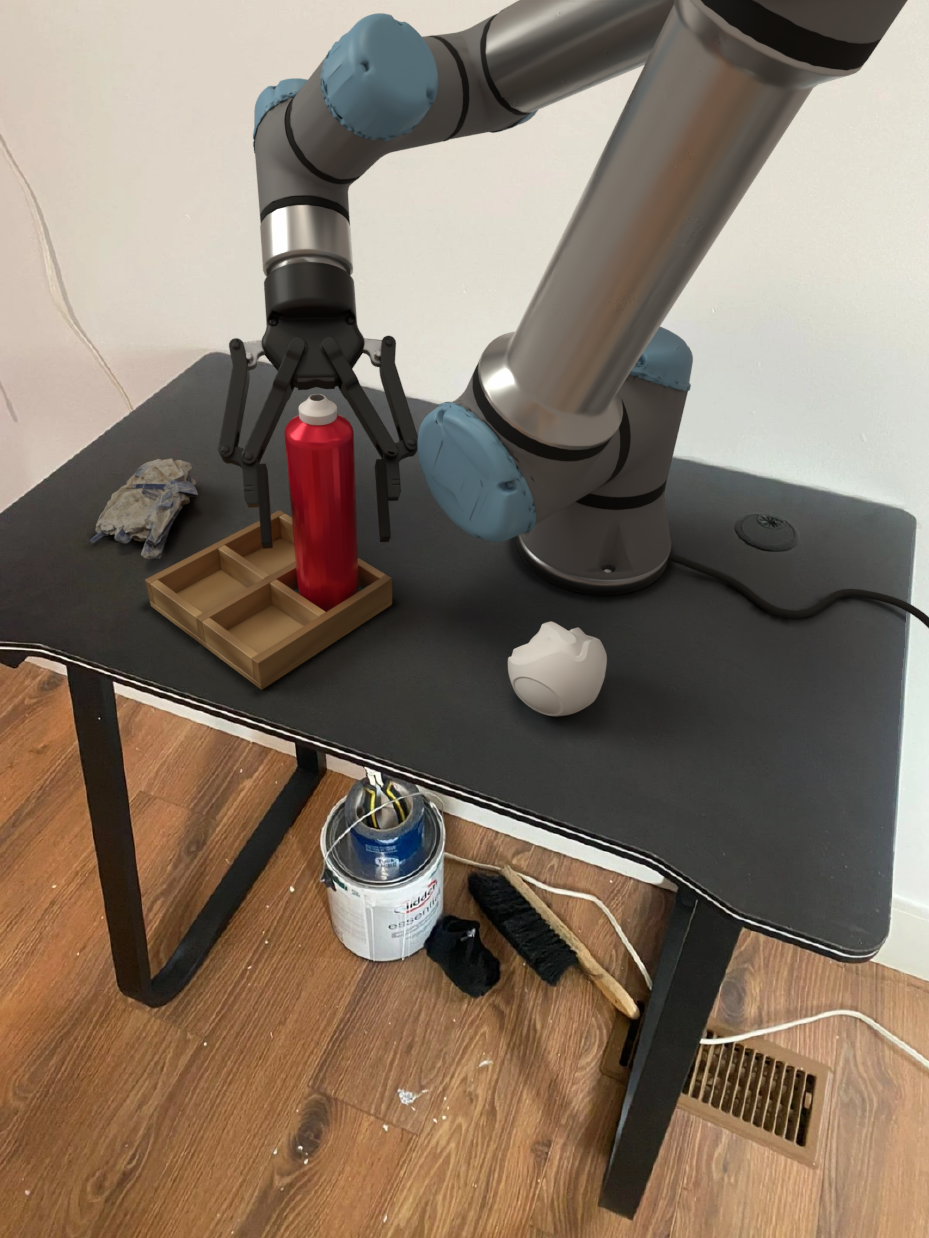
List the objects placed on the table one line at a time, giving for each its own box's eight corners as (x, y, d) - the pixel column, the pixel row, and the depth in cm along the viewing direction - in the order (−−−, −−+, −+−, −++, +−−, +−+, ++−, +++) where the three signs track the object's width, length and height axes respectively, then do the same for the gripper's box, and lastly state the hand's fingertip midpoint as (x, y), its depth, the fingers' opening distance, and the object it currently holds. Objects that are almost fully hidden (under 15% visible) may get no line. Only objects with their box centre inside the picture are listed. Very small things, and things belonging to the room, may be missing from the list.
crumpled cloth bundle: (146, 477, 99) (139, 443, 96) (220, 489, 98) (215, 455, 95) (75, 557, 88) (64, 521, 85) (157, 571, 87) (149, 535, 84)
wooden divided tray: (392, 604, 85) (392, 578, 83) (261, 690, 76) (258, 663, 74) (282, 535, 92) (279, 509, 90) (150, 606, 83) (144, 579, 81)
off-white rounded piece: (569, 659, 80) (581, 590, 75) (618, 717, 75) (634, 648, 70) (489, 686, 77) (495, 616, 72) (534, 748, 72) (545, 678, 67)
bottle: (345, 573, 87) (336, 376, 74) (368, 606, 83) (363, 406, 70) (290, 588, 85) (271, 388, 72) (311, 623, 81) (295, 420, 68)
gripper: (431, 295, 83) (450, 542, 81) (182, 298, 79) (197, 556, 78) (442, 256, 75) (463, 528, 74) (167, 258, 72) (184, 542, 70)
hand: (326, 542), depth 76 cm, fingers open, 9 cm apart
